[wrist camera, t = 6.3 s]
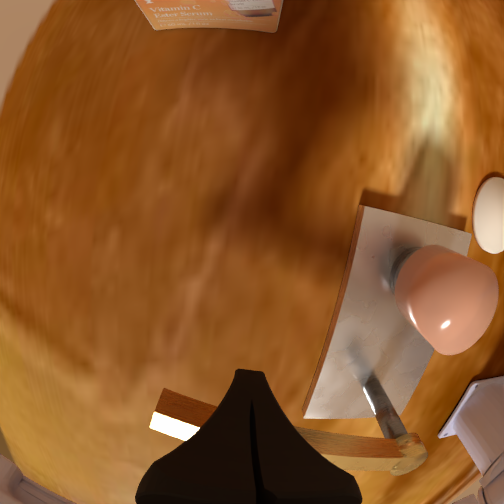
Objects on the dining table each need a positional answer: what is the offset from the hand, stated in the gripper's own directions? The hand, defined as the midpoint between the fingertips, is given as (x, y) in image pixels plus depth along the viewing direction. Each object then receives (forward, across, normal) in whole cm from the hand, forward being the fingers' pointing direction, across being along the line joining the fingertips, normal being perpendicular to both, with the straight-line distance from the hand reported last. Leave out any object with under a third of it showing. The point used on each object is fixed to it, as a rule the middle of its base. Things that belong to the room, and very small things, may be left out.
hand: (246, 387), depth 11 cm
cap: (+4, -10, -4) cm, 12 cm away
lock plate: (+7, -10, 0) cm, 12 cm away
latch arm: (0, -4, +3) cm, 5 cm away
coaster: (+7, -18, -10) cm, 22 cm away
